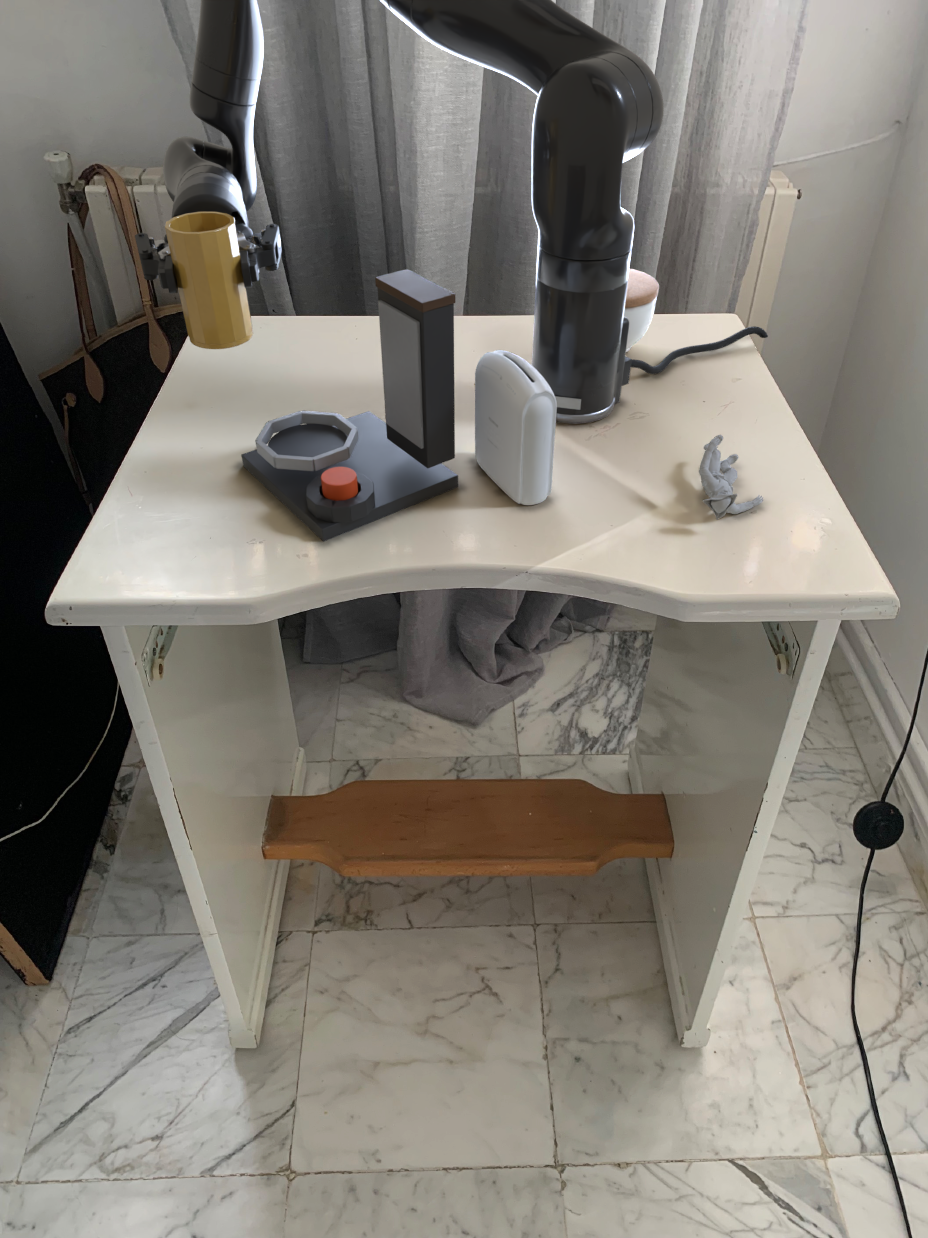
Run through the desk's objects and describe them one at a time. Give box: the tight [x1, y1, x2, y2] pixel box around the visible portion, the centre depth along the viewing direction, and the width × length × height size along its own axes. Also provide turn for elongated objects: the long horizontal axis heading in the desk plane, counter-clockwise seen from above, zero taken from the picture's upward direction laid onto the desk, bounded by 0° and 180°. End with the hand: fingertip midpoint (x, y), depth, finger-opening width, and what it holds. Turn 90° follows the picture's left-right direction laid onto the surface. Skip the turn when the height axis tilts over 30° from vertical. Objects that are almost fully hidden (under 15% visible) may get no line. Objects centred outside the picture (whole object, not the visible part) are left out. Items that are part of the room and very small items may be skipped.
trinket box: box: [624, 268, 660, 353], centre depth 109 cm, size 11×11×9 cm
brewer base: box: [240, 410, 459, 542], centre depth 88 cm, size 15×16×3 cm
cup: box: [164, 212, 254, 350], centre depth 83 cm, size 6×6×10 cm
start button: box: [321, 467, 358, 501], centre depth 81 cm, size 3×3×2 cm
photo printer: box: [474, 349, 557, 506], centre depth 84 cm, size 10×4×12 cm, turn 26°
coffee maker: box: [254, 268, 456, 471], centre depth 82 cm, size 15×15×16 cm
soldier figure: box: [698, 434, 764, 521], centre depth 85 cm, size 8×5×12 cm
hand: (209, 279), depth 81 cm, fingers closed on cup, 6 cm apart
